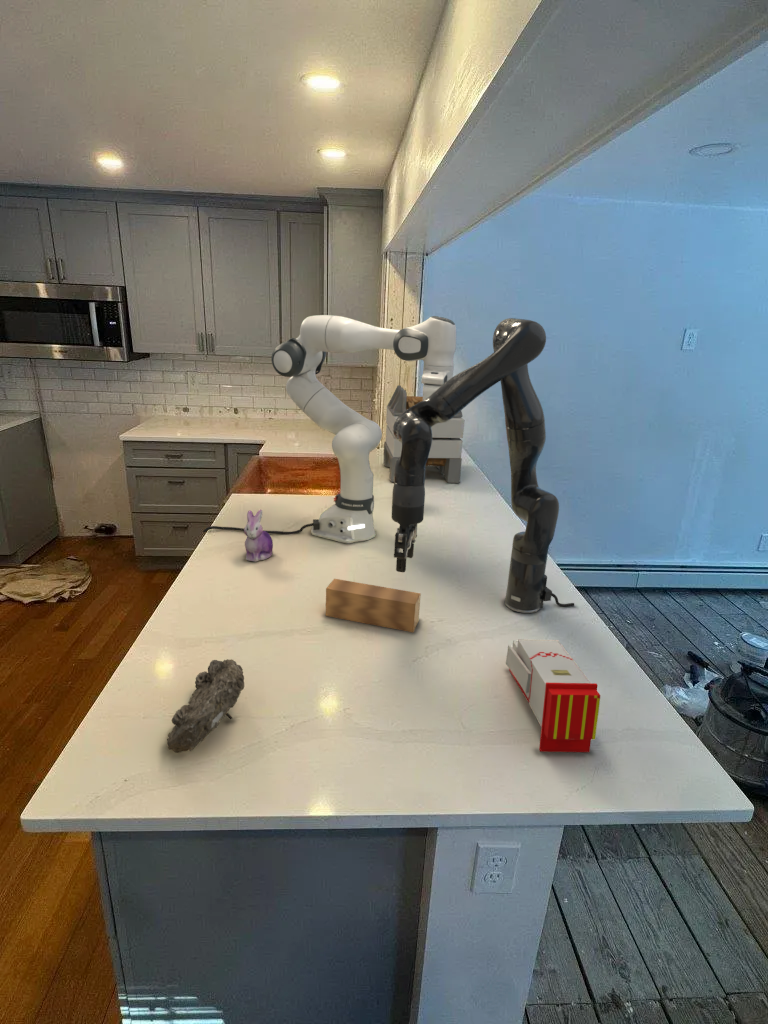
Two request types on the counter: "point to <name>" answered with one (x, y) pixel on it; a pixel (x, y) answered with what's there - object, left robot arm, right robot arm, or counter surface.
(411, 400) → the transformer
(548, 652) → the toy
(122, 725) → the counter surface
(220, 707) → the fossil
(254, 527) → the figurine
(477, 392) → the right robot arm
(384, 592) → the bar
